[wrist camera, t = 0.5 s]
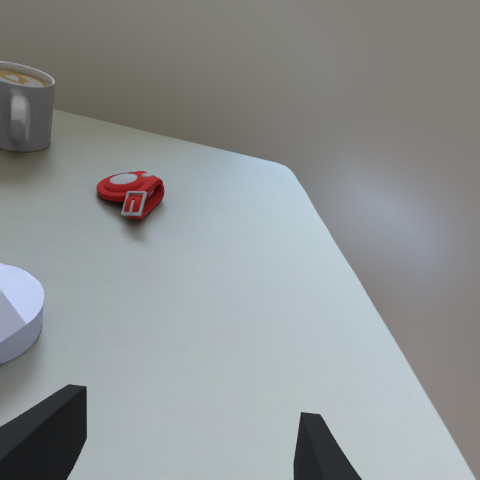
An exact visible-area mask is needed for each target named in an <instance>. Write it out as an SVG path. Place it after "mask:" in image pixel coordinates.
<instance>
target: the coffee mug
mask: <svg viewBox="0 0 480 480" xmlns="http://www.w3.org/2000/svg"><path fill="white" fill-rule="evenodd" d="M54 89H55V81H54V79H53V78H52V77H51V76H49V75H48V74H46V73H44V72H42V71H40V70H37V69H34V68H31V67H28V66H24V65H20V64H16V63H9V62H1V61H0V148H1V149H5V150H10V151H17V152H34V151H40V150H43V149H45V148H47V147H48V146H49V145H50V138H51V126H52V114H53V100H54Z"/></svg>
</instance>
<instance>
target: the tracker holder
mask: <svg viewBox="0 0 480 480" xmlns="http://www.w3.org/2000/svg"><path fill="white" fill-rule="evenodd" d="M153 189H154V190H153ZM97 191H98V195H99V196H100V197H101V198H103V199H105V200H109V201H125V202H124V205H123V209H122V212H121V215H122V216H126V217H127V218H129V219H143V218H144V217H145V216H146V215H147V214H148V213H149V212H150V211H151V210H152V209H153V208H154V207H155V206H156V205H157V204H158V203H159V202H160V201H161V200H162V198H163V196H164V186H163V182H162V180H161V179H159V178H158V177H156V176H154V175H152V174H150V173H147V172H144V171H137V172H129V173H122V174H117V175H113V176H110V177H107V178H105V179H103V180H102V181H101V182H100V183H99V184H98V185H97ZM152 191H153V193H152V194H151V195H150V196H149V197H148V195H149V194H150V193H151V192H152ZM147 197H148V198H147ZM146 198H147V199H146ZM145 199H146V200H145Z"/></svg>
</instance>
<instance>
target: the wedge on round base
mask: <svg viewBox="0 0 480 480" xmlns="http://www.w3.org/2000/svg"><path fill="white" fill-rule="evenodd" d="M43 307H44V291H43V288H42V286H41V284H40V283H39V281H38V280H37V279H36V278H35V277H33V276H32V275H31V274H29V273H28V272H26V271H24V270H22V269H19V268H16V267H13V266H9V265H5V264H0V364H2V363H5V362H8V361H10V360H12V359H14V358H16V357H18V356H19V355H21V354H22V353H24V352H25V351H26V350H28V349H29V348H30V347H31V346H32V345H33V344H34V342H35V341H36V339H37V338H38V336H39V334H40V332H41V327H42V317H43Z"/></svg>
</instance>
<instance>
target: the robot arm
mask: <svg viewBox="0 0 480 480" xmlns="http://www.w3.org/2000/svg"><path fill="white" fill-rule="evenodd" d="M86 439H87V390H86V386H78V385H70V384H69V385H67V386H65V387H63V388H62V389H60V390H59V391H57V392H55V393H54V394H52V395H51V396H49V397H48V398H46V399H45V400H43V401H42V402H40V403H38V404H37V405H35V406H34V407H32V408H31V409H29V410H27V411H26V412H24V413H23V414H21V415H19V416H18V417H16V418H15V419H13V420H11V421H10V422H8V423H6V424H4V425H3V426H1V427H0V480H66V479H67V478H68V476H69V474H70V473H71V471H72V469H73V467H74V465H75V463H76V461H77V459H78V457H79V455H80V452H81V450H82V448H83V446H84V443H85V441H86ZM294 480H362V479H361V478H360V476H359V475H358V474H357V472H356V471H355V469H354V468H353V467H352V465H351V464H350V462H349V461H348V459H347V458H346V456H345V455H344V453H343V452H342V450H341V448H340V447H339V445H338V444H337V442H336V440H335V439H334V437H333V435H332V434H331V432H330V430H329V429H328V427H327V425H326V423H325V421H324V420H323V418H322V416H321V415H320V414H313V413H305V412H301V417H300V423H299V430H298V437H297V444H296V451H295V457H294Z"/></svg>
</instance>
